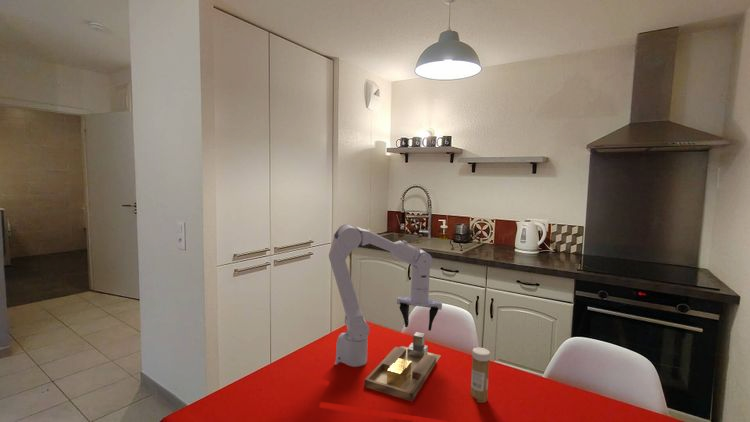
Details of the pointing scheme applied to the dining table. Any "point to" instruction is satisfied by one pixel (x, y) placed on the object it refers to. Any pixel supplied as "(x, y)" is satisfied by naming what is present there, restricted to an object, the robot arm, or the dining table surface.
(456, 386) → the dining table surface
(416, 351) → the brushed metal block
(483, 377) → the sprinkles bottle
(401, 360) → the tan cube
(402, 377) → the golden brown cube
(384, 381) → the slot board
